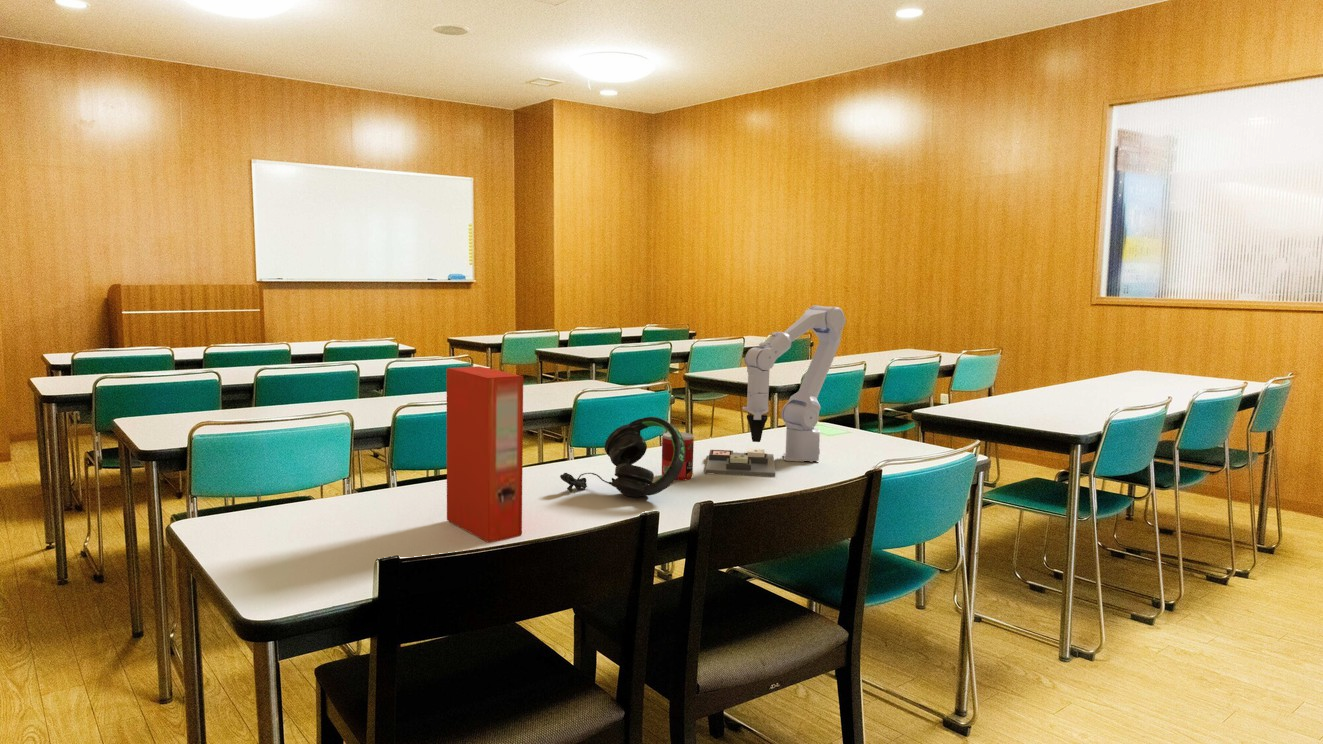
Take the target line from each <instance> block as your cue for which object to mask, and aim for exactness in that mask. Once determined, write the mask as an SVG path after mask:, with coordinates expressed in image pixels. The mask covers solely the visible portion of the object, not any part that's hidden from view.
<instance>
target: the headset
mask: <svg viewBox="0 0 1323 744" xmlns="http://www.w3.org/2000/svg"><path fill="white" fill-rule="evenodd" d="M651 427H660V428H663V429H664V430H666V431H667V433H668V432H669V433H670V434H671V439H672V443H673V448H674V455H673V459H672V462H671V464H670V466H669V468H668V470H667V471H666V472H665V474H664V475H663V476H662V475H661V477H659V478H658V479H657V480H656V481H654V477H655V474H654V472H653V471H652V470H650V469H648V468H645V467H642V466H639V465H634V464H636V463H637V462H638V461H640V460H641V459H642V458H643V457H644V455H645V454H646V453H647V449H648V445H647V442H646V441H645V439H644V438H643V436H642V434H641V431H642V430H644V429H648V428H651ZM680 432H681V431H679V430H678V428H677V427H676V426H674V425H673V424H672V423H671V422H668V421H666V420H665V419H664V418H663V419H662V418H660V417H658V416H657V417H656V416H646V417H643V418H638V419H636V420H633V421H631V422H630V423H627V424H623V425H621V426H619V427H618V428H616V429H614V430H613V431H612V432H611V433H610V434H609V435H608V437H607V439H606V440H605V443H604V452H605V453H606V454H607V456H608V457H609V458H610V462H611V463H612V464H613V465H614V466H615V469H614V476H615V477H617V478H614V477H611V481H606V480H605V479H603V478H602V477H601V476H600V475H598V474H597V473H594V472H584V473H581V474H579V476H578V477H577V478H575V477H574V476H573V475H572V474H570V473H568V472H564V473H563V474H560V475H559V478H560V480H562V481H563V482H565V483H567V484H568V485H569V486H567V487H566V488H567V491H569V492H570V493H573V494H574V495H575V494H576V492H575V491H574V489H573V487H575V488H576V489H577V490H578V491H579V490H581V489H587V487H588V485H587V484H588V483H587V478H586V477H582V476H584V475H587V474H588V475H589V474H591V475H593V476H597V477H598V478H599V479H600V480H601V481H602V482H604V483H606V484H608V485H610V486H612V487H614V488H615V489H616V490H617V491H618V492H619V493H620V494H622V495H623V496H626V497H630V498H640V497H642V496H652V495H653V496H654V495H656V494H659V493H660V492H662V491H664V490H665V489H667V488H669V487H670V486H671V485H672V484H673V483H674V482H675V481H676V480H675V479H676V478H677V477H678V475H679V474H680V472H681V470H682V467H683V464H684V460H685V444H684V440H683V438H682V435H681V434H680ZM581 477H582V478H581Z"/></svg>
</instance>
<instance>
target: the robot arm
mask: <svg viewBox="0 0 1323 744" xmlns="http://www.w3.org/2000/svg"><path fill="white" fill-rule="evenodd" d="M803 313H804V314H803V315H802V316H800V318H798V319H797V320H796V321H795V322H794V323H792V324H791V325H790V326H789V327H788V328H787V329H786V330H784V332H783V331H777V332H776V331H774V332H772V333H771V336H769V338H767V339H766V340H765V341H763V342H760V343H759V345H758V346H757V347H752V348H751V347H750V349H748V351H747V352H746V354H745V357H744V358H743V362H744V364H745V366H746V372H747V394H746V396H747V397H746V399H747V400H746V406H742V411H745V412H748V413H750V414H747V415H746V419H747V422H748V425H749V428H750V437H751V441H752V442H754V443H760V442H761V440H762V436H763V431H764V427H765V425H766V422H767V420H768V414H766V413H769V409H770V408H769V396H770V395H769V392H770V372H771V371H770V370H771V369H773V367H774V365H775V363H776V361H777V360H778V358H780V357H781V356H782V355H784V354H785V353H787V351H788V350H790V349H791V347H792V342H794V341H795V340H797V339H798V338H800V337H801V336H802V335H804V334H806V333H807V332H808V331H810V330H812V331H813V333H814V334H815V335H816V337H817V338H818V344H817V346H816V348H815V352H814V354H813V357H811V361H810V364H809V366H808V368H807V370H806V372H805V375H804V378H803V379H802V382H801V384H800V388H799V389H798V391H797V392H796V393H794V394H792V395H791V396H790V397H789V399H788V401H787V402H786V403H785V404H784V405H783V406H782V409H781V419H782V421H783V422H784V426H785V427H786V429H785V430H786V431H785V453H783V460H784V461H786V462H804V461H810V462H809V463H814V462H813V461H816V462H815V463H818V462H817V461H819V462H820V452H821V451H820V450H821V449H820V442H821V441H820V437H821V434H820V432H821V431H820V429H819V428H815V426H817V424H818V422H819V418H820V411H821V409H822V406H821V405H820V403H819V401H818V397H819V394H820V392H821V389H822V387H823V384H824V383H825V380H826V378H827V375H828V373H829V370H830V368H831V366H832V363H833V362H834V358H835V356H836V354H837V351H838V349H839V347H840V344H841V339H842V333H843V332H842V331H843V329H844V327H845V324H846V322H847V320H846V317H845V314H844V311H843V310H842V308H841V307H838V306H822V305H817V304H814V305H812V306H810V307H809V308H808V309H806V310H804V312H803Z"/></svg>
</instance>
